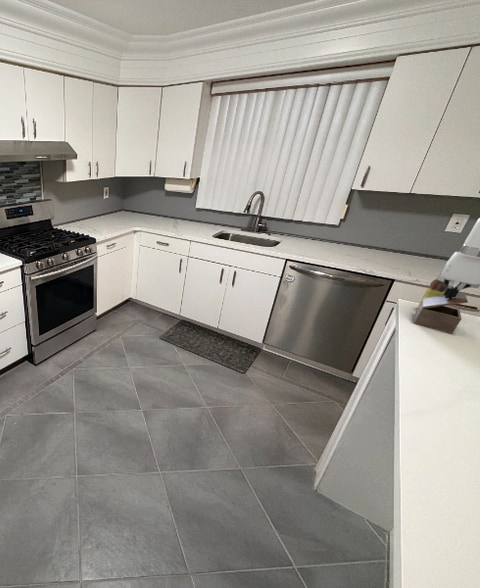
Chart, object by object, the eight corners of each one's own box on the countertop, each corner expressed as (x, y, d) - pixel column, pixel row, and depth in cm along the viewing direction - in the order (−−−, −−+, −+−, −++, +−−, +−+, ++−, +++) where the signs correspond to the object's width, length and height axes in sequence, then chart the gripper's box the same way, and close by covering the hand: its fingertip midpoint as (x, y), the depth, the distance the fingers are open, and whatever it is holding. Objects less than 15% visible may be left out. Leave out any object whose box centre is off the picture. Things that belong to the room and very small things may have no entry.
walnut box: (450, 324, 123) (459, 309, 120) (451, 334, 116) (461, 318, 113) (414, 314, 129) (422, 300, 126) (414, 323, 122) (422, 308, 120)
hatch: (465, 294, 117) (464, 292, 117) (468, 302, 111) (467, 300, 111) (423, 300, 126) (422, 298, 126) (423, 308, 119) (422, 306, 119)
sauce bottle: (437, 317, 128) (463, 272, 119) (416, 312, 131) (440, 268, 123) (435, 311, 132) (461, 268, 123) (415, 306, 136) (439, 264, 127)
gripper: (506, 254, 107) (476, 301, 115) (445, 245, 116) (420, 288, 125) (510, 259, 102) (478, 307, 110) (446, 249, 112) (420, 294, 120)
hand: (447, 297), depth 117 cm, fingers closed
